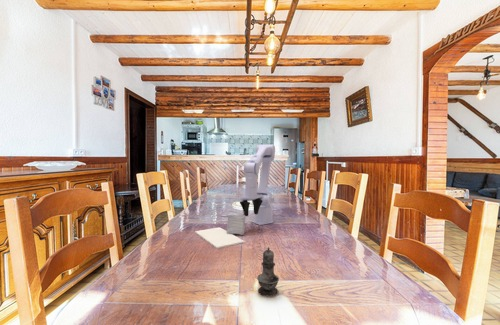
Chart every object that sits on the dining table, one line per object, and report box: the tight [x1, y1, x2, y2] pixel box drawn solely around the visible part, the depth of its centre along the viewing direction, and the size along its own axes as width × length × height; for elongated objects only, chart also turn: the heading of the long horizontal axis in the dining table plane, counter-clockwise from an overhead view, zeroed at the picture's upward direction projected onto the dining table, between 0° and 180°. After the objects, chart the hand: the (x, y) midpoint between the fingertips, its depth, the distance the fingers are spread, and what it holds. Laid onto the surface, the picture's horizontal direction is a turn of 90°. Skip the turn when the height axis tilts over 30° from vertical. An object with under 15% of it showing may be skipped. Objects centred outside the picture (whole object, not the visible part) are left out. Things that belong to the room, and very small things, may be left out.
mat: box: [194, 227, 246, 249], centre depth 110 cm, size 13×24×1 cm, turn 33°
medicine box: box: [226, 212, 247, 236], centre depth 115 cm, size 8×4×9 cm, turn 85°
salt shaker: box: [256, 246, 280, 298], centre depth 66 cm, size 6×6×12 cm
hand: (251, 215), depth 119 cm, fingers open, 6 cm apart
